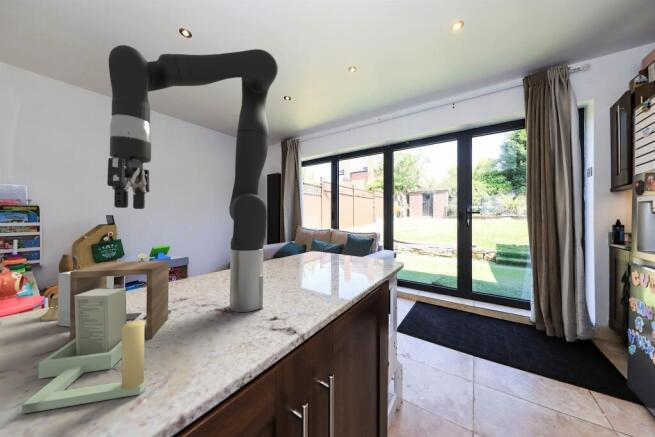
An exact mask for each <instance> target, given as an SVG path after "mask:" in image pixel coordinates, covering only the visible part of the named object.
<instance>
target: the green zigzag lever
mask: <svg viewBox="0 0 655 437" xmlns="http://www.w3.org/2000/svg"><path fill="white" fill-rule="evenodd" d="M145 324H146V322H145V320H131V321H128V322H127V323H126V324H124V325H123V326H122V340H121V341H120V342H119V343H118V344H117V345H116V346H115V347H114V348H113V349H112V350H110V351H109V352H107V353H99V354H91V355H83V356H76V338H75V339H74V340H72V341H71V342H70V341H69V342H68V343H67V344H65V345H63V346H62V347H60V348H59V349H58V350H56V351H54V352H53V353H52V354H50V355H49V356H47V357H46V358H44V359H43V360H42V361H40V362H38V379H45V378H53V377H55V378H54V379H52V380H51V381H50V382H49V383H47V384H45V386H44V387H43V388H41V389H40V390H38V391H37V392H36V393H35V394H34V395H33V396H31V397H30V398H29V399H26V401H25V402H24V403H23V404H21V409H22V410H21V414H29V413H35V412H40V411H41V412H42V411H46V410H53V409H59V408H64V407H70V406H71V407H72V406H77V405H83V404H88V403H89V404H90V403H95V402H100V401H107V400H112V399H119V398H124V397H131V396H136V395H141V394H142V392H143V390H144V388H146V386H147V385H146V384H147V383H146V382H147V381H146V380H147V379H146V378H147V377H145ZM120 360H121V381H117V382H116V381H115V382H110V383H105V384H103V383H102V384H99V385H98V384H97V385H91V386H85V387H79V388H72V389H67V388H68V387H69V386H70V385H71V384H73V383H74V382H75V381H76V380H77V379H78V378H79V377H80V376H81V375H83V373H90V372H95V371H103V370H111V369H113V367H114V366H115V365H116V364H117V363H118V362H119V361H120Z"/></svg>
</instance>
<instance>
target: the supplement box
mask: <svg viewBox="0 0 655 437" xmlns="http://www.w3.org/2000/svg"><path fill="white" fill-rule="evenodd" d="M72 271H73V270H72ZM72 271H70V272H72ZM70 272H64V273H59V272H58V274H57V276H58V278H57V279H58V280H57V285H58V286H57V287H58V288H57V294H58V320H57V326H61V327H62V326H63V327H66V328H67V327H68V328H70ZM114 278H115V276H107V289H109V288H110V289H111V288H114V285H115V283H114V282H115V280H114Z"/></svg>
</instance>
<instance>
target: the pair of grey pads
mask: <svg viewBox="0 0 655 437" xmlns="http://www.w3.org/2000/svg"><path fill="white" fill-rule="evenodd" d="M171 312H172V309H168V315H170V313H171ZM141 315H142V312H134V313H133V312H132V313H126V318H127V321H128V322H129V321H136V319H137V318H138V317H139V316H141ZM143 320H146V315H144V317H143Z"/></svg>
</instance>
